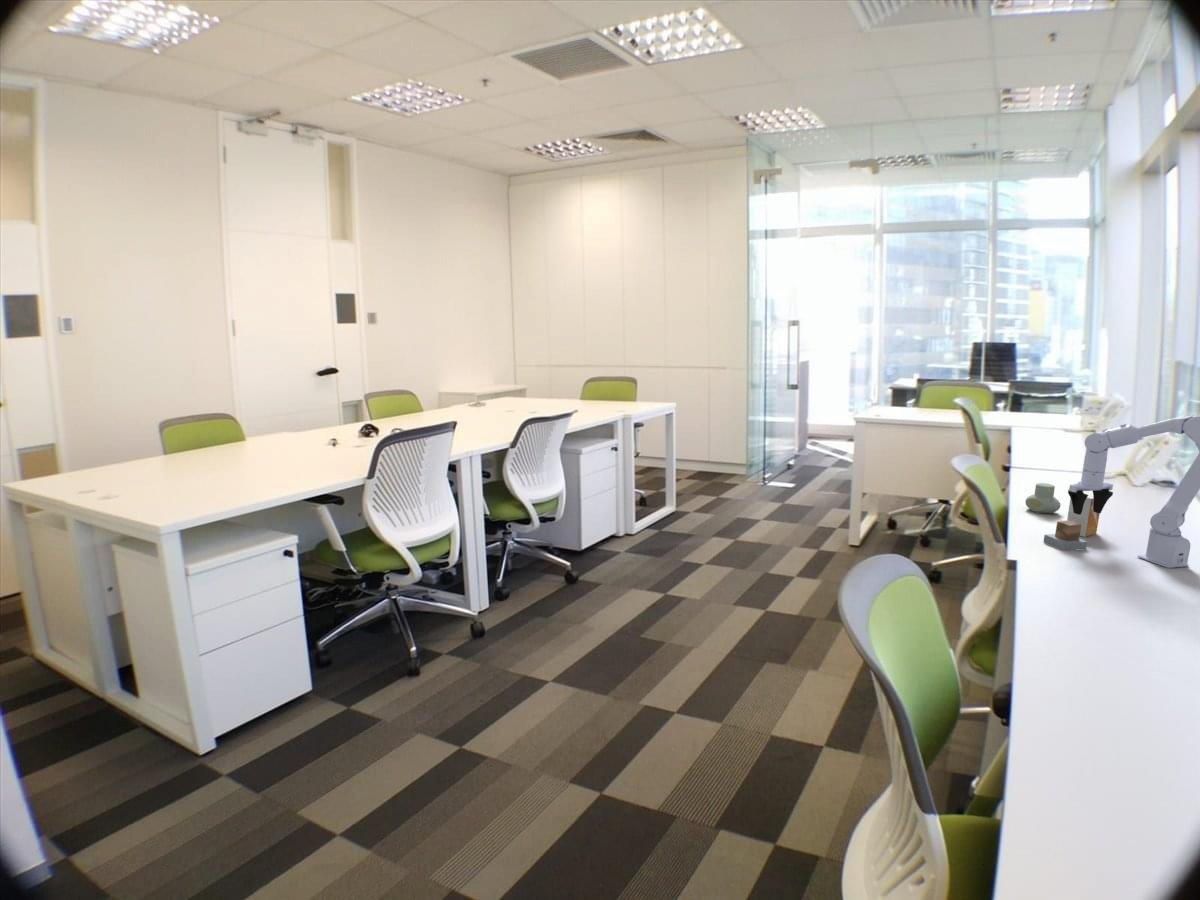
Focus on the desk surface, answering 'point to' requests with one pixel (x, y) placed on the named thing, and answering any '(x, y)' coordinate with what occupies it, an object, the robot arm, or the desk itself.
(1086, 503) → the small box
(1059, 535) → the walnut block
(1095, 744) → the desk surface
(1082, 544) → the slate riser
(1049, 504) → the air freshener
